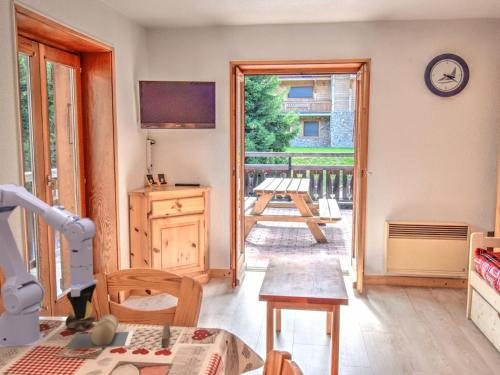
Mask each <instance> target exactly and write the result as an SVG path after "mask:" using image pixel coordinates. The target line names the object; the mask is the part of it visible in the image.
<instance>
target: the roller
mask: <svg viewBox="0 0 500 375" xmlns="http://www.w3.org/2000/svg"><path fill="white" fill-rule="evenodd" d="M118 327H119V320H118V318H117V317H116V315H114V314H111V313H109V314H104V315H102V316H101V317H99V319H98V320H97V323H96V324H95V327H94V329H93V330H92V332H91V333H92V335H91V338H92V341H93V343H94V344H96V345H97V346H106V345H108V344H110V342H111V341H112V339H113V337H114V334H115V332H117V329H118Z"/></svg>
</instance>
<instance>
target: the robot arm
mask: <svg viewBox="0 0 500 375" xmlns="http://www.w3.org/2000/svg"><path fill="white" fill-rule="evenodd" d="M18 207H21V208H23V209H26V211H27V210H28V211H29V212H31V213H34V214H35V215H38V216H39V217H42V218H43V222H44V224H45V225H47V226H48V227H49V228H52V229H54V230H56V231H57V232H58V233H61V234H63V235H64V238H65V240H66V241H67V244H68V249H69V276H70V278H69V279H70V280H69V286H70V291H69V292H67V294H66V298H67V300H68V301H69V302H70V305H71V307H72V312H73V311H74V314H75V318H76V319H84V318H85V315H86V306H87V301H89V302H90V303H91V304H92V299H93V295H94V292H95V290H96V288H97V284H98V283H99V280H98V279H94V260H93V259H94V255H93V254H94V252H93V247H94V246H93V238H94V237H95V235H96V233H97V225H96V223H95V222H94V221H93V220H91V218H89V217H83V218H81V216H80V215H79V214H74V213H72V212H70V211H68V210H67V209H66V207H65V206H64V205H62V204H61V205H53V206H51V205H49V204H47V202H44V201H43V200H41V199H40V198H39V197H37V196H35V195H34V194H32V193H31V192H29V191H28V190H27V189H26V187H24V186H21V185H19V184H18V183H13V182H12V183H8V184H7V183H6V184H0V267H1V271H2V273H3V276H4V278H5V282H4V284H3V286H2V287H1V288H0V293H1V295H2V305H3V308H4V311H2V313H1V314H0V347H15V346H16V347H17V346H35V345H37V344H38V343H39V341H40V340H41V339H42V338H43V336H44V335H45V332H40V307H41V302H42V301H43V300H44V298H45V294H46V293H45V289H44V287H43V285H42V283H40V282H39V281H38V279H37V277H36V276H35V275H34V274H31V273H29V272H28V270H27V268H26V265H25V262H24V260H23V257H22V255H21V252H20V250H19V247H18V245H17V242H16V240H15V239H16V238H15V236H14V234H13V231H12V229H11V225H10V224H9V221H8V220H9V218H10V216H11V214H13V212H14V211H16V210H17V208H18Z"/></svg>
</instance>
